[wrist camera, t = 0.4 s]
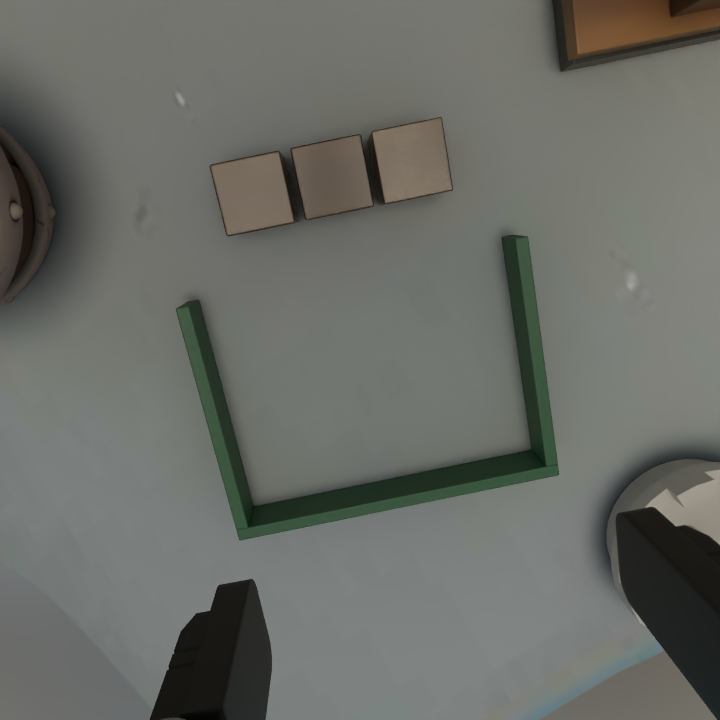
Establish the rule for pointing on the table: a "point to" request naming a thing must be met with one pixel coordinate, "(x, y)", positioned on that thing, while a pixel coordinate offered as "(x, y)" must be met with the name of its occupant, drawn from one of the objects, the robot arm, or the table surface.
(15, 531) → the table surface
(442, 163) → the cube
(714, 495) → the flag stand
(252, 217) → the cube
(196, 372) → the frame
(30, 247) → the flowerpot
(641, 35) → the hand brush
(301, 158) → the cube
